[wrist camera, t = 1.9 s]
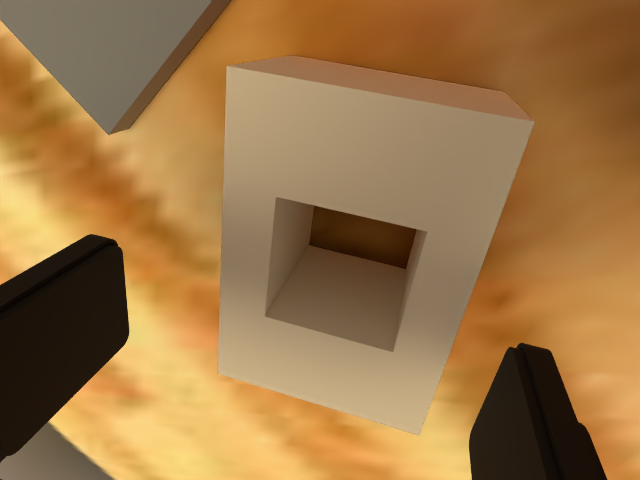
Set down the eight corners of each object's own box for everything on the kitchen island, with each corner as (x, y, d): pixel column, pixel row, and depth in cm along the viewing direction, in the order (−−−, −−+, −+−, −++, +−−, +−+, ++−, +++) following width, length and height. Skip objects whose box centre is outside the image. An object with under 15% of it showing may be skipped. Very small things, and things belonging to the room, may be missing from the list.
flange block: (291, 55, 14) (226, 65, 10) (504, 91, 13) (534, 121, 9) (268, 295, 19) (217, 373, 15) (424, 337, 18) (419, 435, 14)
